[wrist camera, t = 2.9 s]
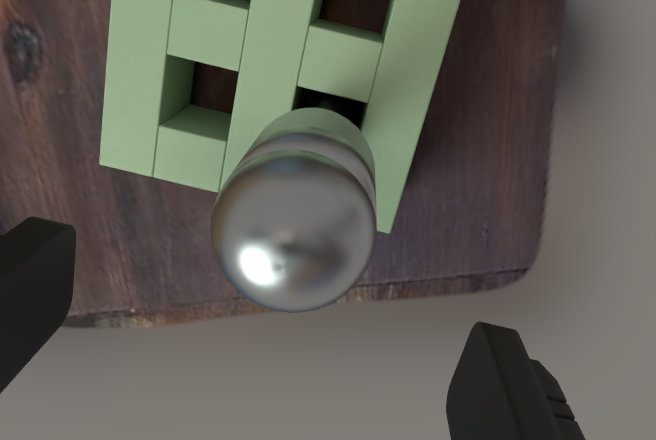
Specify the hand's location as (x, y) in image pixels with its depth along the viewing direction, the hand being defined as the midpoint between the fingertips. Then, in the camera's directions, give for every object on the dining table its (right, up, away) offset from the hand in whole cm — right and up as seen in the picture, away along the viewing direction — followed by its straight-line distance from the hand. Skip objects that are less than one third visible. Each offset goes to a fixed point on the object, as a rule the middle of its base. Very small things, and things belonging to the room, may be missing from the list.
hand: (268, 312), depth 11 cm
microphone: (+1, +8, +19) cm, 20 cm away
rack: (-1, +11, +18) cm, 21 cm away
